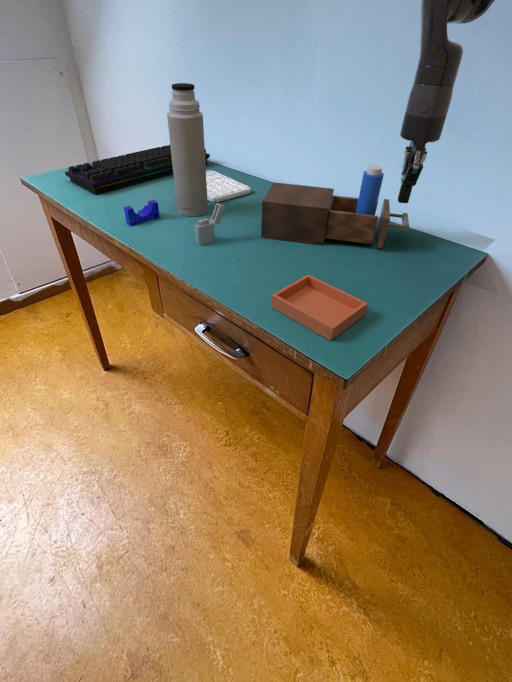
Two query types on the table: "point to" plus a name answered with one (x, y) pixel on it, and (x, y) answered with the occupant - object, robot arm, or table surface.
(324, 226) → the cabinet
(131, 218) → the cable holder
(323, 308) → the tray
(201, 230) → the lighter
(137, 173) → the keyboard
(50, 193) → the table surface
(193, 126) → the thermos bottle
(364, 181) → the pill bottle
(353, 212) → the drawer
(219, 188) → the calculator
